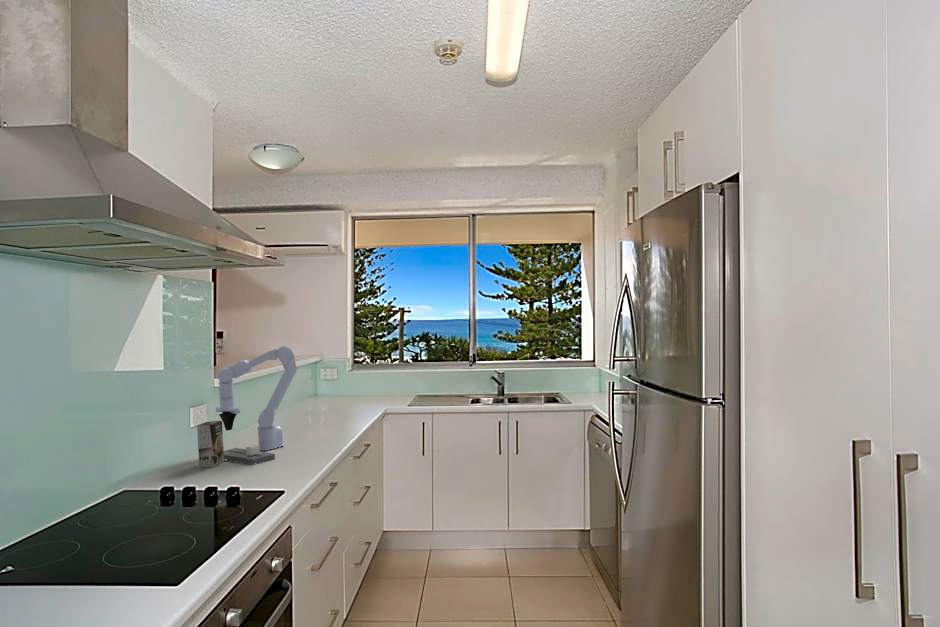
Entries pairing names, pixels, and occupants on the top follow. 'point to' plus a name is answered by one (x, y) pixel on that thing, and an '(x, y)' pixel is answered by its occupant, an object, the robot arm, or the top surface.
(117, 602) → the top surface
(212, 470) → the top surface
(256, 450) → the fader knob
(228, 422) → the robot arm
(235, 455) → the fader panel
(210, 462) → the coffee box
